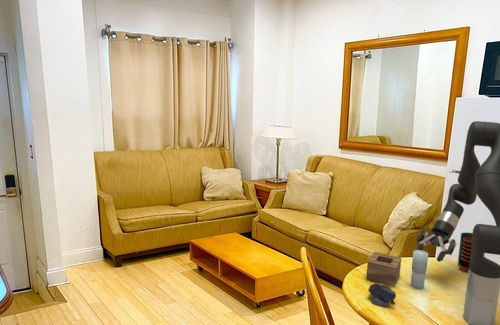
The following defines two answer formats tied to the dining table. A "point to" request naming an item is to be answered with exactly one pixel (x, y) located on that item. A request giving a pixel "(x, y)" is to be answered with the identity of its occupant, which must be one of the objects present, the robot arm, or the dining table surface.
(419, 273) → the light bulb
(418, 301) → the dining table surface
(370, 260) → the housing
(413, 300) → the dining table surface
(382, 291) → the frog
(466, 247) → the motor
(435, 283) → the dining table surface
